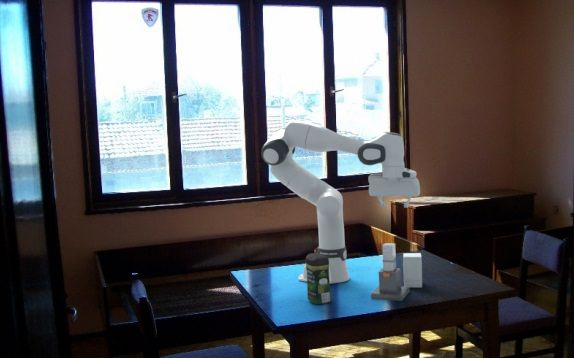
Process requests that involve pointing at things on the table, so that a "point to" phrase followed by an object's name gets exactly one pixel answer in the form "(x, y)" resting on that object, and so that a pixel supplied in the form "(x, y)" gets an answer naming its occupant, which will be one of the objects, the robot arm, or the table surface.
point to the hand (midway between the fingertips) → (394, 207)
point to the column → (389, 257)
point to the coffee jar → (318, 278)
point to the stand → (390, 286)
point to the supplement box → (412, 269)
